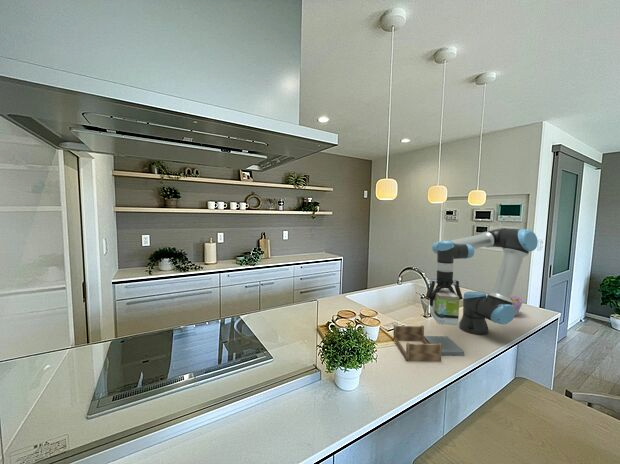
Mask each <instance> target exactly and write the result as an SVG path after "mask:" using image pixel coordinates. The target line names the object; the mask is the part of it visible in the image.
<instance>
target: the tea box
mask: <svg viewBox="0 0 620 464" xmlns="http://www.w3.org/2000/svg"><path fill="white" fill-rule="evenodd" d="M435 288H436V287H434V289H433V291H434V290H435ZM432 293H433V292H432ZM455 293H456V292H455ZM455 293H452V292H450V290H449V289H446V288H444V289H441V290H440V291H439V292H438V293H436V296H435V298H434V300H435V313H433V312H432V311H431V306H430V305H429V306H430V308H429V309H430V310H429V313H430V316H431V317H432V318H433V319H434V321H435V322H436V323H437V324H438V325H448V326H449V325H450V326H459V314H460V312H459V311H460V301H459V296H458V295H457V293H456V294H455Z"/></svg>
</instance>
